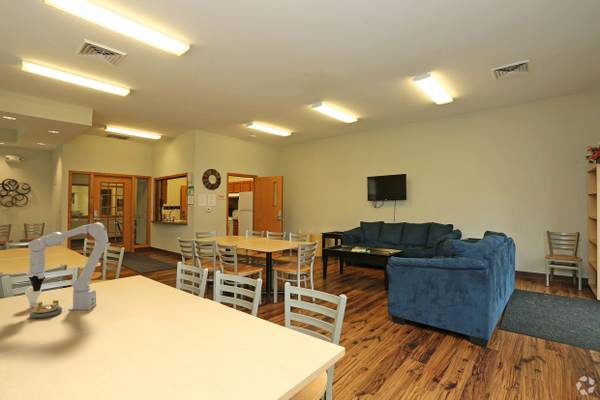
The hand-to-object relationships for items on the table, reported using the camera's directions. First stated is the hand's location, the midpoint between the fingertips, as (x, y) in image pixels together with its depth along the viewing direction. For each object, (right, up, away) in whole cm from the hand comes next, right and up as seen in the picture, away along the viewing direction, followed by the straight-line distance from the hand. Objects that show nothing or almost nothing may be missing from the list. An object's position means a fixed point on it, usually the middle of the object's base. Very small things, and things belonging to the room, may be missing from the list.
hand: (36, 291), depth 149 cm
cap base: (+7, -11, -3) cm, 13 cm away
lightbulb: (-8, -11, +6) cm, 15 cm away
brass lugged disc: (+7, -8, -3) cm, 11 cm away
